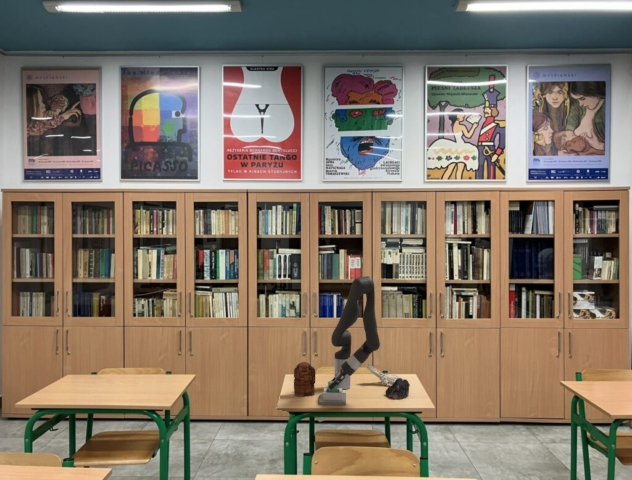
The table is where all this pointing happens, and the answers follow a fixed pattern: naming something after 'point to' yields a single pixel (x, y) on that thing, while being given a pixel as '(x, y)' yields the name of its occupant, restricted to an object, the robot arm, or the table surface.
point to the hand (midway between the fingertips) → (330, 386)
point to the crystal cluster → (398, 389)
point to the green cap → (333, 388)
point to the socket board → (332, 398)
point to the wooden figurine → (304, 379)
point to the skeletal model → (383, 379)
